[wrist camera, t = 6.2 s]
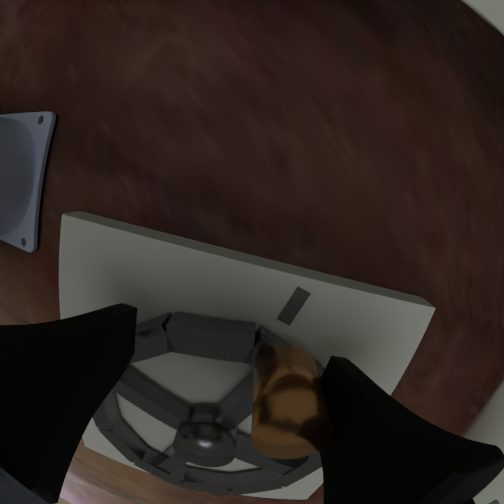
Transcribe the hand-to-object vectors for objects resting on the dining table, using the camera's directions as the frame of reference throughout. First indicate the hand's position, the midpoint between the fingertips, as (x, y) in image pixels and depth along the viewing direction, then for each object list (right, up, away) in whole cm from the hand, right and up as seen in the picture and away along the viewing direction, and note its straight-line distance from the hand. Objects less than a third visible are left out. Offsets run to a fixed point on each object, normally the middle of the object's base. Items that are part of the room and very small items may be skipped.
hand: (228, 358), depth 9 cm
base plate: (-1, -5, +5) cm, 7 cm away
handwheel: (-1, -5, +3) cm, 6 cm away
